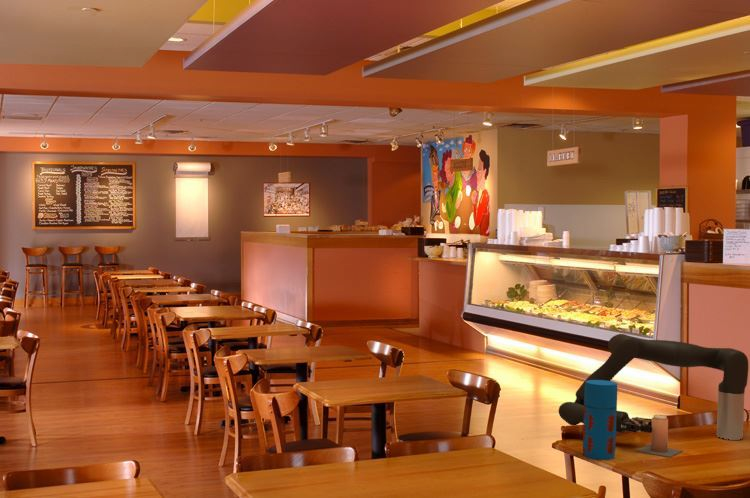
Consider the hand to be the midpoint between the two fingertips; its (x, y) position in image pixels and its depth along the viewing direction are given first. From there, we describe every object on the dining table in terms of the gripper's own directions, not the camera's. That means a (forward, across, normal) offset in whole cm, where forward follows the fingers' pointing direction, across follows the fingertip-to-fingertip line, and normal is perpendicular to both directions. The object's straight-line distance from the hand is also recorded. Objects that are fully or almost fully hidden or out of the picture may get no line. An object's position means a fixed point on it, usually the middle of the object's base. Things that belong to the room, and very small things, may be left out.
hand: (656, 427), depth 331 cm
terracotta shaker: (+1, 0, +8) cm, 8 cm away
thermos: (-12, -21, +8) cm, 25 cm away
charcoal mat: (+1, 0, +8) cm, 8 cm away
